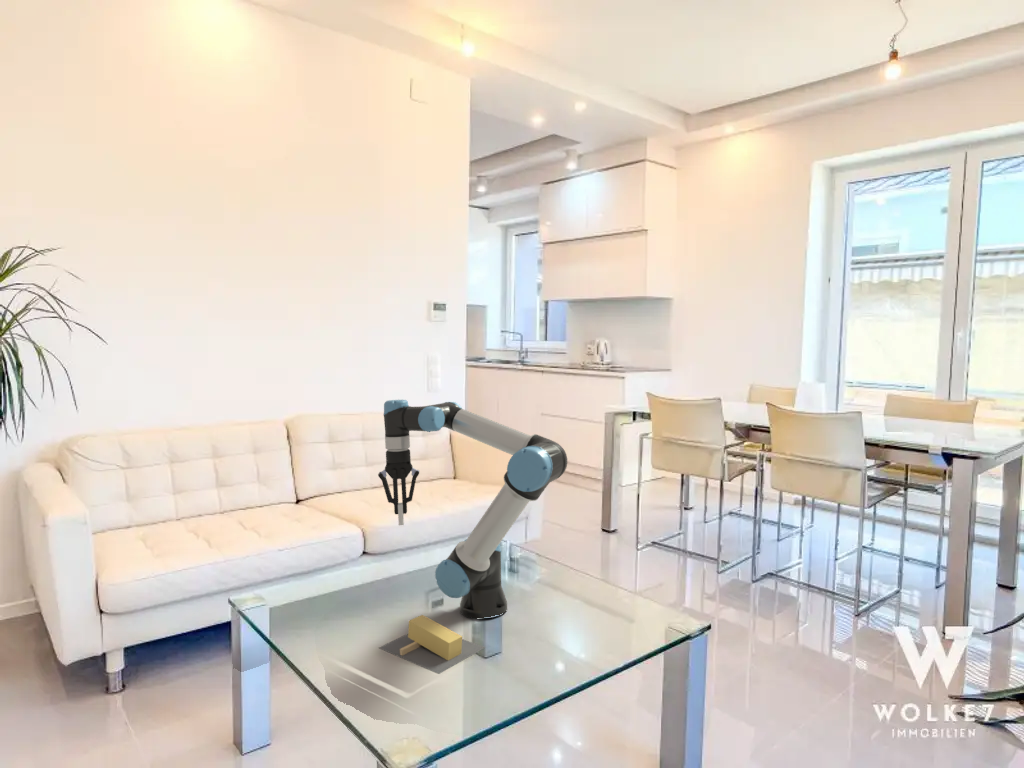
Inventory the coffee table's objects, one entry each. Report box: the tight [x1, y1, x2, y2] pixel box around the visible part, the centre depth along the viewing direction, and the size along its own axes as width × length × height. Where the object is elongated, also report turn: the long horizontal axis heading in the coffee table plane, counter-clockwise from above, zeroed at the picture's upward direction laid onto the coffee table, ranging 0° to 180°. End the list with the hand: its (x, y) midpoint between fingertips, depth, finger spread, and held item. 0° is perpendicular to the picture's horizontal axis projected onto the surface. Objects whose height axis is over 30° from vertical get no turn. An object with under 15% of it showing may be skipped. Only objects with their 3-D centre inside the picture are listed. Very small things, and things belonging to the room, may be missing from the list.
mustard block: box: [407, 614, 463, 660], centre depth 180 cm, size 5×5×16 cm
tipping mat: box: [378, 633, 486, 674], centre depth 181 cm, size 24×18×2 cm
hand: (401, 523), depth 204 cm, fingers closed
